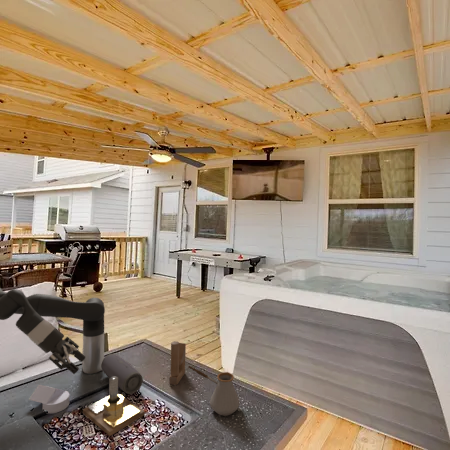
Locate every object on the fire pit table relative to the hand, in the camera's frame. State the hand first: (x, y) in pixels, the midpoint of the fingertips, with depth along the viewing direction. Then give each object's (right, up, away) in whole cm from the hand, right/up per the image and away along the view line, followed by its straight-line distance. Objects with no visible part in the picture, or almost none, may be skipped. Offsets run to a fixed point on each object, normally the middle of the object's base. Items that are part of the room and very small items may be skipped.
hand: (80, 365), depth 111 cm
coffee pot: (+47, -20, +9) cm, 52 cm away
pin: (+11, -18, +3) cm, 21 cm away
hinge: (+11, -18, +3) cm, 21 cm away
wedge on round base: (-14, -19, +8) cm, 25 cm away
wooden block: (+31, -19, +28) cm, 46 cm away
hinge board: (+11, -19, +3) cm, 22 cm away
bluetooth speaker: (+7, -19, +22) cm, 30 cm away
